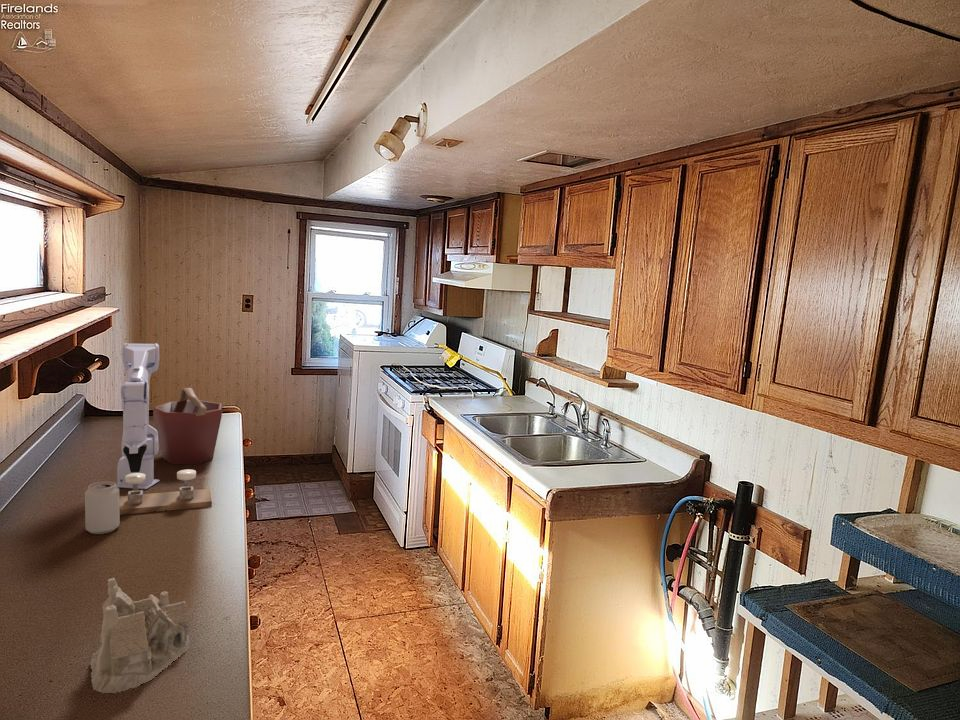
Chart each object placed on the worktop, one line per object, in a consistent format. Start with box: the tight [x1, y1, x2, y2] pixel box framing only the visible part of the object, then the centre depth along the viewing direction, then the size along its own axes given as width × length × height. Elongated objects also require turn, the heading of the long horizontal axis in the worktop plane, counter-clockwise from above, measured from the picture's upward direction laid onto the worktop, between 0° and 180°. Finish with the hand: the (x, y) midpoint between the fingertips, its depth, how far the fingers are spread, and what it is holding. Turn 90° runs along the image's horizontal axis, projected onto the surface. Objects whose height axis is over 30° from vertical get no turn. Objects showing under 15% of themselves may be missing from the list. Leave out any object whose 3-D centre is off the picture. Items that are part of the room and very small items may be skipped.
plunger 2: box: [176, 469, 197, 487], centre depth 178 cm, size 5×5×4 cm
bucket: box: [152, 387, 223, 465], centre depth 218 cm, size 24×22×25 cm
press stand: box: [119, 485, 213, 516], centre depth 176 cm, size 26×11×4 cm, turn 116°
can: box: [84, 480, 121, 535], centre depth 157 cm, size 8×8×12 cm
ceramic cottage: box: [90, 577, 192, 694], centre depth 107 cm, size 16×16×15 cm
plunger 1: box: [125, 473, 146, 491], centre depth 173 cm, size 5×5×4 cm
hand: (135, 471), depth 172 cm, fingers closed
